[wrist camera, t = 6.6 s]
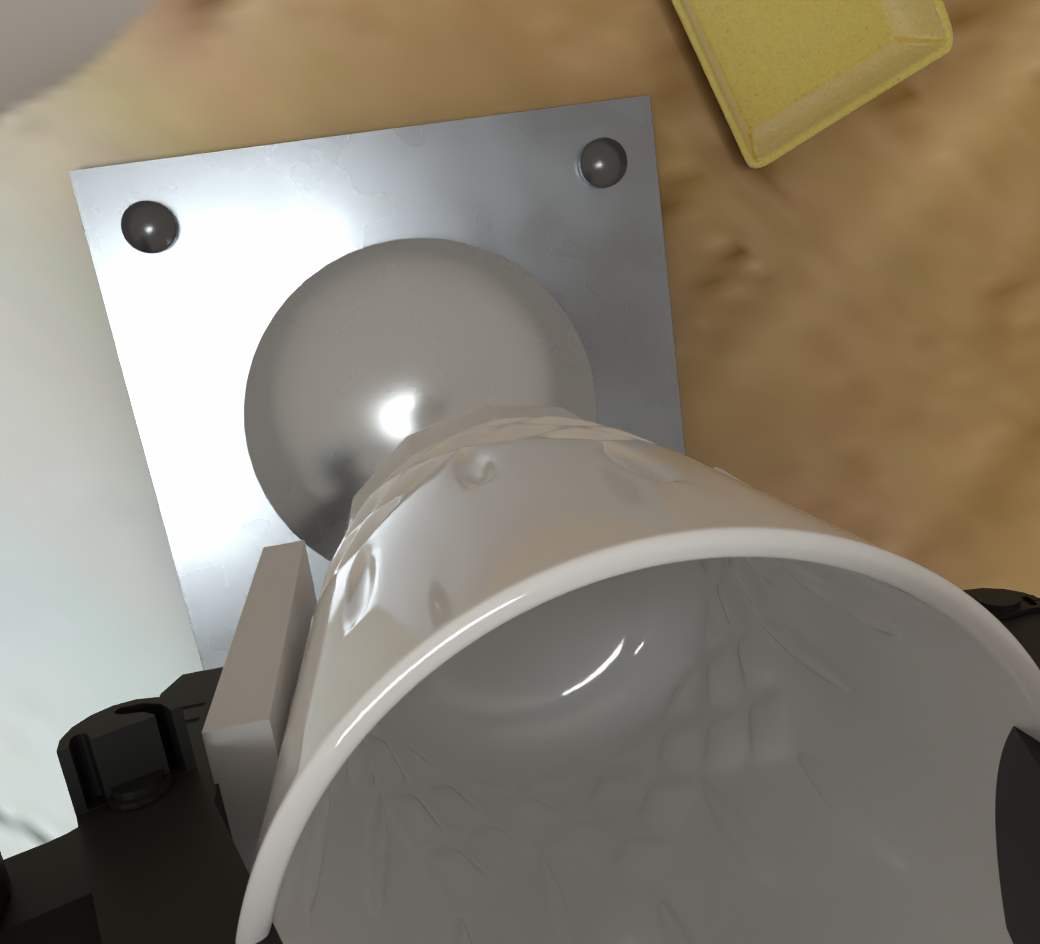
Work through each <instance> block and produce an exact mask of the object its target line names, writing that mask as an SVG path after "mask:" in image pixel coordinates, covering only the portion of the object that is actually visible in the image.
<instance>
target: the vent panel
mask: <svg viewBox="0 0 1040 944" xmlns="http://www.w3.org/2000/svg"><path fill="white" fill-rule="evenodd" d="M69 174H70V178H71V181H72V185H73V189H74V192H75V196H76V200H77V204H78V207H79V211H80V215H81V218H82V222H83V226H84V229H85V233H86V237H87V241H88V244H89V248H90V252H91V255H92V259H93V263H94V266H95V270H96V274H97V278H98V281H99V285H100V289H101V292H102V296H103V300H104V303H105V307H106V311H107V315H108V318H109V322H110V326H111V329H112V333H113V337H114V340H115V344H116V348H117V352H118V355H119V359H120V363H121V366H122V370H123V374H124V377H125V381H126V385H127V389H128V392H129V396H130V400H131V403H132V407H133V411H134V414H135V418H136V422H137V426H138V429H139V433H140V437H141V440H142V444H143V448H144V451H145V455H146V459H147V463H148V466H149V470H150V474H151V477H152V481H153V485H154V488H155V492H156V496H157V500H158V503H159V507H160V511H161V514H162V518H163V522H164V525H165V529H166V533H167V537H168V540H169V544H170V548H171V551H172V555H173V559H174V562H175V566H176V570H177V574H178V577H179V581H180V585H181V588H182V592H183V596H184V599H185V603H186V607H187V611H188V614H189V618H190V622H191V625H192V629H193V633H194V636H195V640H196V644H197V648H198V651H199V655H200V659H201V662H202V666H203V670H209V669H214V668H219V667H224V664H225V661H226V658H227V655H228V652H229V649H230V646H231V643H232V640H233V637H234V634H235V631H236V628H237V625H238V622H239V619H240V616H241V613H242V610H243V607H244V604H245V601H246V598H247V595H248V592H249V589H250V586H251V583H252V580H253V577H254V574H255V571H256V568H257V565H258V562H259V559H260V556H261V553H262V550H263V547H269V546H274V545H280V544H286V543H291V542H297V541H303V540H304V541H305V545H306V550H307V555H308V560H309V565H310V570H311V575H312V579H313V584H314V589H315V594H316V599H317V602H318V599H319V597H320V594H321V590H322V586H323V582H324V579H325V576H326V573H327V570H328V567H329V565H330V563H331V561H332V559H333V557H334V555H335V553H336V551H337V549H338V547H339V545H340V544H341V541H342V538H343V534H344V530H345V526H346V522H347V519H348V515H349V511H350V507H351V503H352V500H353V497H354V496H355V494H356V493H357V492H358V491H359V490H360V489H361V488H362V486H363V485H364V484H365V483H366V482H367V481H368V480H369V478H370V477H371V476H372V475H373V474H374V473H375V472H376V470H377V469H378V468H379V467H380V466H381V465H382V464H383V462H384V461H385V460H386V459H387V458H388V457H389V456H390V454H391V453H392V452H393V451H394V450H395V449H396V448H397V446H398V445H399V444H400V443H401V442H402V441H403V440H404V438H405V437H406V436H408V435H410V434H412V433H415V432H417V431H419V430H422V429H424V428H426V427H429V426H431V425H433V424H435V423H438V422H440V421H442V420H445V419H447V418H449V417H452V416H454V415H456V414H459V413H461V412H463V411H466V410H468V409H470V408H472V407H475V406H477V405H479V404H501V405H528V406H556V407H562V408H564V409H566V410H568V411H570V412H572V413H574V414H575V415H577V416H579V417H581V418H583V419H585V420H586V421H589V422H593V423H598V424H602V425H606V426H610V427H614V428H617V429H620V430H623V431H626V432H629V433H631V434H634V435H636V436H638V437H641V438H643V439H646V440H648V441H651V442H653V443H655V444H658V445H661V446H664V447H667V448H670V449H672V450H675V451H677V452H679V453H681V454H684V455H685V446H684V436H683V426H682V415H681V405H680V395H679V385H678V375H677V365H676V355H675V345H674V335H673V324H672V314H671V304H670V294H669V284H668V274H667V264H666V254H665V243H664V233H663V223H662V213H661V203H660V193H659V183H658V173H657V162H656V152H655V142H654V132H653V122H652V112H651V102H650V95H645V96H637V97H630V98H622V99H614V100H607V101H599V102H592V103H584V104H576V105H569V106H561V107H553V108H546V109H538V110H531V111H523V112H515V113H508V114H500V115H492V116H485V117H477V118H470V119H462V120H454V121H447V122H439V123H431V124H424V125H416V126H409V127H401V128H393V129H386V130H378V131H371V132H363V133H355V134H348V135H340V136H332V137H325V138H317V139H310V140H302V141H294V142H287V143H279V144H271V145H264V146H256V147H249V148H241V149H233V150H226V151H218V152H210V153H203V154H195V155H188V156H180V157H172V158H165V159H157V160H149V161H142V162H134V163H127V164H119V165H111V166H104V167H96V168H88V169H81V170H73V171H69Z"/></svg>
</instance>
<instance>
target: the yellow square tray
mask: <svg viewBox="0 0 1040 944" xmlns="http://www.w3.org/2000/svg"><path fill="white" fill-rule="evenodd" d="M671 1H672V3H673V5H674V8H675V10H676V12H677V14H678V16H679V18H680V21H681V23H682V25H683V27H684V29H685V31H686V33H687V36H688V38H689V40H690V42H691V44H692V46H693V48H694V51H695V53H696V55H697V57H698V59H699V62H700V64H701V66H702V68H703V71H704V73H705V75H706V77H707V79H708V81H709V83H710V86H711V88H712V90H713V92H714V94H715V97H716V99H717V101H718V103H719V105H720V107H721V109H722V112H723V114H724V116H725V118H726V120H727V122H728V125H729V127H730V129H731V131H732V133H733V135H734V138H735V140H736V142H737V144H738V146H739V149H740V151H741V153H742V155H743V157H744V159H745V161H746V163H747V164H748V166H749V167H751V168H761V167H764V166H766V165H767V164H769V163H771V162H773V161H775V160H776V159H778V158H780V157H781V156H783V155H784V154H786V153H788V152H789V151H791V150H792V149H794V148H795V147H797V146H798V145H800V144H802V143H803V142H805V141H806V140H808V139H809V138H811V137H813V136H814V135H816V134H817V133H819V132H820V131H822V130H824V129H825V128H827V127H829V126H830V125H832V124H834V123H835V122H837V121H838V120H840V119H842V118H843V117H845V116H846V115H848V114H850V113H851V112H853V111H854V110H856V109H857V108H859V107H860V106H862V105H864V104H866V103H867V102H869V101H870V100H872V99H874V98H875V97H877V96H878V95H880V94H881V93H883V92H884V91H886V90H888V89H890V88H892V87H893V86H895V85H896V84H898V83H900V82H901V81H903V80H905V79H906V78H908V77H909V76H911V75H912V74H914V73H916V72H917V71H919V70H921V69H922V68H924V67H926V66H927V65H929V64H930V63H932V62H934V61H936V60H937V59H939V58H941V57H942V56H944V55H946V54H947V53H948V52H949V51H950V50H951V47H952V44H953V31H952V26H951V23H950V20H949V17H948V14H947V11H946V9H945V6H944V3H943V0H671Z"/></svg>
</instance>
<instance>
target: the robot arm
mask: <svg viewBox="0 0 1040 944" xmlns="http://www.w3.org/2000/svg"><path fill="white" fill-rule="evenodd" d="M713 469H715V470H717V471H719V472H722V473H724V474H726V475H728V476H730V477H732V478H734V479H737V480H739V479H738V478H736V477H734V476H732V475H731V474H729V473H727V472H726V471H724V470H722V469H720V468H719V467H715V468H713ZM739 481H741V480H739ZM741 482H743V481H741ZM743 483H744V482H743ZM745 484H746V483H745ZM747 485H748V484H747ZM749 486H750V485H749ZM963 591H964V592H965V593H967V594H968V595H970V596H971V597H972V598H974V599H975V600H976V601H977V602H979V603H980V604H981V605H982V606H983V607H985V608H986V609H987V610H988V611H989V612H990V613H991V614H993V615H994V616H995V617H996V618H997V619H998V620H999V621H1000V622H1001V623H1002V624H1003V625H1004V626H1005V627H1006V628H1007V629H1008V630H1009V631H1010V632H1011V633H1012V635H1013V636H1014V637H1015V638H1016V639H1017V640H1018V641H1019V643H1020V644H1021V645H1022V646H1023V647H1024V649H1025V650H1026V651H1027V653H1028V654H1029V655H1030V656H1031V658H1032V659H1033V661H1034V662H1035V664H1036V665H1037V666H1038V668H1039V669H1040V598H1037V597H1035V596H1033V595H1029V594H1026V593H1023V592H1017V591H1011V590H1006V589H991V588H979V589H970V590H963ZM316 605H317V599H316V594H315V589H314V584H313V579H312V575H311V570H310V565H309V560H308V555H307V550H306V545H305V541H304V540H303V541H297V542H291V543H286V544H280V545H274V546H269V547H263V550H262V553H261V556H260V559H259V562H258V565H257V568H256V571H255V574H254V577H253V580H252V583H251V586H250V589H249V592H248V595H247V598H246V601H245V604H244V607H243V610H242V613H241V616H240V619H239V622H238V625H237V628H236V631H235V634H234V637H233V640H232V643H231V646H230V649H229V652H228V655H227V658H226V661H225V664H224V667H219V668H214V669H209V670H204V671H199V672H194V673H189V674H184V675H182V676H180V677H179V678H178V679H177V680H176V681H175V682H174V683H173V684H171V685H170V686H169V687H168V688H167V689H166V690H165V691H164V692H162V693H161V695H160V697H154V698H145V699H136V700H132V701H129V702H125V703H121V704H118V705H114V706H111V707H109V708H107V709H104V710H102V711H100V712H98V713H95V714H93V715H91V716H89V717H88V718H86V719H84V720H83V721H81V722H80V723H78V724H77V725H75V726H74V727H72V728H71V729H70V730H69V731H68V732H67V733H66V734H65V735H64V736H63V737H62V738H61V740H60V741H59V745H58V748H57V755H58V758H59V761H60V765H61V768H62V771H63V774H64V778H65V781H66V784H67V787H68V791H69V794H70V797H71V800H72V804H73V807H74V810H75V813H76V817H77V822H78V827H77V828H76V829H74V830H72V831H71V832H69V833H67V834H65V835H63V836H61V837H59V838H56V839H54V840H52V841H50V842H48V843H45V844H43V845H40V846H38V847H35V848H33V849H30V850H28V851H25V852H22V853H20V854H17V855H15V856H12V857H10V858H7V859H5V860H3V858H2V855H1V852H0V944H236V943H235V940H236V933H237V927H238V921H239V916H240V911H241V907H242V903H243V899H244V894H245V891H246V887H247V883H248V879H249V875H250V871H251V867H252V863H253V859H254V855H255V851H256V847H257V843H258V839H259V835H260V831H261V827H262V823H263V819H264V815H265V810H266V806H267V802H268V798H269V794H270V790H271V786H272V782H273V778H274V774H275V770H276V766H277V761H278V757H279V753H280V749H281V745H282V741H283V736H284V732H285V728H286V724H287V719H288V715H289V711H290V707H291V703H292V699H293V696H294V692H295V689H296V685H297V681H298V676H299V672H300V668H301V664H302V659H303V655H304V651H305V646H306V642H307V638H308V634H309V630H310V625H311V619H312V616H313V614H314V611H315V608H316ZM995 829H996V847H997V860H998V870H999V879H1000V887H1001V895H1002V902H1003V909H1004V916H1005V923H1006V928H1007V930H1008V933H1009V935H1010V937H1011V940H1012V942H1013V944H1040V742H1039V741H1038V740H1036V739H1034V738H1033V737H1031V736H1030V735H1028V734H1026V733H1025V732H1023V731H1022V730H1020V729H1018V728H1017V727H1015V726H1013V728H1012V729H1011V731H1010V733H1009V735H1008V737H1007V739H1006V742H1005V744H1004V747H1003V750H1002V754H1001V758H1000V762H999V768H998V774H997V783H996V797H995ZM256 944H283V942H282V940H281V938H280V936H279V934H278V932H277V930H276V928H275V926H274V924H273V922H272V926H271V929H270V932H269V934H268V935H267V937H265V938H264V939H263V940H261V941H260V942H258V943H256Z"/></svg>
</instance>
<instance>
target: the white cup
mask: <svg viewBox="0 0 1040 944" xmlns="http://www.w3.org/2000/svg"><path fill="white" fill-rule="evenodd" d="M1013 726H1015V727H1017V728H1018V729H1020V730H1022V731H1023V732H1025V733H1026V734H1028V735H1030V736H1031V737H1033V738H1034V739H1036V740H1038V741H1039V742H1040V669H1039V668H1038V666H1037V665H1036V664H1035V662H1034V661H1033V659H1032V658H1031V656H1030V655H1029V654H1028V653H1027V651H1026V650H1025V649H1024V647H1023V646H1022V645H1021V644H1020V643H1019V641H1018V640H1017V639H1016V638H1015V637H1014V636H1013V635H1012V633H1011V632H1010V631H1009V630H1008V629H1007V628H1006V627H1005V626H1004V625H1003V624H1002V623H1001V622H1000V621H999V620H998V619H997V618H996V617H995V616H994V615H993V614H991V613H990V612H989V611H988V610H987V609H986V608H985V607H983V606H982V605H981V604H980V603H979V602H977V601H976V600H975V599H974V598H972V597H971V596H970V595H968V594H967V593H965V592H964V591H963V590H961V589H960V588H958V587H957V586H955V585H954V584H952V583H951V582H949V581H947V580H946V579H944V578H943V577H941V576H939V575H937V574H936V573H934V572H932V571H930V570H928V569H927V568H925V567H923V566H921V565H919V564H917V563H915V562H913V561H910V560H908V559H906V558H904V557H902V556H900V555H897V554H895V553H893V552H891V551H889V550H886V549H884V548H882V547H880V546H878V545H875V544H873V543H871V542H869V541H867V540H865V539H862V538H860V537H858V536H856V535H854V534H852V533H849V532H847V531H845V530H843V529H841V528H839V527H836V526H834V525H832V524H830V523H828V522H826V521H823V520H821V519H819V518H817V517H815V516H813V515H811V514H808V513H806V512H804V511H802V510H800V509H798V508H796V507H794V506H791V505H789V504H787V503H785V502H783V501H781V500H779V499H777V498H774V497H772V496H770V495H768V494H766V493H764V492H762V491H760V490H758V489H756V488H753V487H751V486H749V485H747V484H745V483H743V482H741V481H739V480H737V479H734V478H732V477H730V476H728V475H726V474H724V473H722V472H719V471H717V470H715V469H713V468H711V467H709V466H707V465H705V464H703V463H700V462H698V461H696V460H694V459H692V458H690V457H688V456H686V455H684V454H681V453H679V452H677V451H675V450H672V449H670V448H667V447H664V446H661V445H658V444H655V443H653V442H651V441H648V440H646V439H643V438H641V437H638V436H636V435H634V434H631V433H629V432H626V431H623V430H620V429H617V428H614V427H610V426H606V425H602V424H598V423H593V422H589V421H586V420H585V419H583V418H581V417H579V416H577V415H575V414H574V413H572V412H570V411H568V410H566V409H564V408H562V407H556V406H528V405H501V404H479V405H477V406H475V407H472V408H470V409H468V410H466V411H463V412H461V413H459V414H456V415H454V416H452V417H449V418H447V419H445V420H442V421H440V422H438V423H435V424H433V425H431V426H429V427H426V428H424V429H422V430H419V431H417V432H415V433H412V434H410V435H408V436H406V437H405V438H404V440H403V441H402V442H401V443H400V444H399V445H398V446H397V448H396V449H395V450H394V451H393V452H392V453H391V454H390V456H389V457H388V458H387V459H386V460H385V461H384V462H383V464H382V465H381V466H380V467H379V468H378V469H377V470H376V472H375V473H374V474H373V475H372V476H371V477H370V478H369V480H368V481H367V482H366V483H365V484H364V485H363V486H362V488H361V489H360V490H359V491H358V492H357V493H356V494H355V496H354V497H353V500H352V503H351V507H350V511H349V515H348V519H347V522H346V526H345V530H344V534H343V538H342V541H341V544H340V545H339V547H338V549H337V551H336V553H335V555H334V557H333V559H332V561H331V563H330V565H329V567H328V570H327V573H326V576H325V579H324V582H323V586H322V590H321V594H320V597H319V599H318V602H317V605H316V608H315V611H314V614H313V616H312V619H311V625H310V630H309V634H308V638H307V642H306V646H305V651H304V655H303V659H302V664H301V668H300V672H299V676H298V681H297V685H296V689H295V692H294V696H293V699H292V703H291V707H290V711H289V715H288V719H287V724H286V728H285V732H284V736H283V741H282V745H281V749H280V753H279V757H278V761H277V766H276V770H275V774H274V778H273V782H272V786H271V790H270V794H269V798H268V802H267V806H266V810H265V815H264V819H263V823H262V827H261V831H260V835H259V839H258V843H257V847H256V851H255V855H254V859H253V863H252V867H251V871H250V875H249V879H248V883H247V887H246V891H245V894H244V899H243V903H242V907H241V911H240V916H239V921H238V927H237V933H236V940H235V943H236V944H256V943H258V942H260V941H261V940H263V939H264V938H265V937H267V935H268V934H269V932H270V929H271V926H272V922H273V924H274V926H275V928H276V930H277V932H278V934H279V936H280V938H281V940H282V942H283V944H1013V942H1012V940H1011V937H1010V935H1009V933H1008V930H1007V928H1006V923H1005V916H1004V909H1003V902H1002V895H1001V887H1000V879H999V870H998V860H997V847H996V829H995V797H996V783H997V774H998V768H999V762H1000V758H1001V754H1002V750H1003V747H1004V744H1005V742H1006V739H1007V737H1008V735H1009V733H1010V731H1011V729H1012V728H1013Z"/></svg>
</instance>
